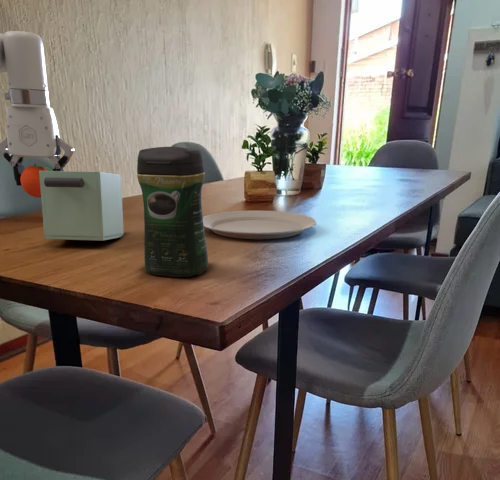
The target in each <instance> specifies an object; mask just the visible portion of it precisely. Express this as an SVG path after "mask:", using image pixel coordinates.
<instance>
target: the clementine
mask: <svg viewBox="0 0 500 480" xmlns="http://www.w3.org/2000/svg"><path fill="white" fill-rule="evenodd" d="M39 171H53V168H50V167H48V166H45V165H37V163H35V164H33V165H29V166H27V167H26V168H25V169H24V170H23V172H22V174H21V177H20V182H21V185H20V186H21V187H22V189H23V191H24V192H25V193H26V194H28V195H29V196H31V197H34V198H41V188H40V176H39Z"/></svg>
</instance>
